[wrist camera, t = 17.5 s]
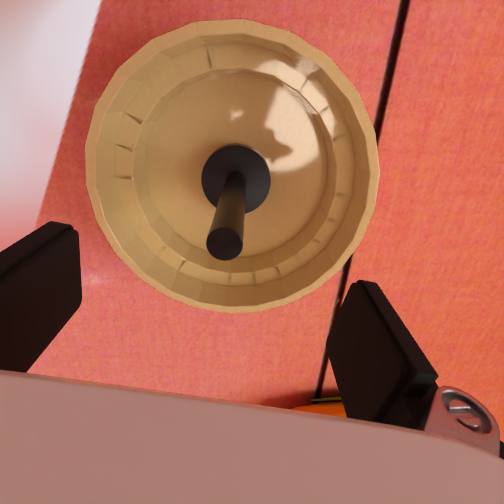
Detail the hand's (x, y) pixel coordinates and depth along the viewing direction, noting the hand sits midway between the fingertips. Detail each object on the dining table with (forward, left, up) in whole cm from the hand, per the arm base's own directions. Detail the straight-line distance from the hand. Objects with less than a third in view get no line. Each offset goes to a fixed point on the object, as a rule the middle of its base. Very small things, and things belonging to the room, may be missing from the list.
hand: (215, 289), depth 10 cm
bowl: (0, 0, -19) cm, 19 cm away
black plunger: (0, 0, -19) cm, 18 cm away
